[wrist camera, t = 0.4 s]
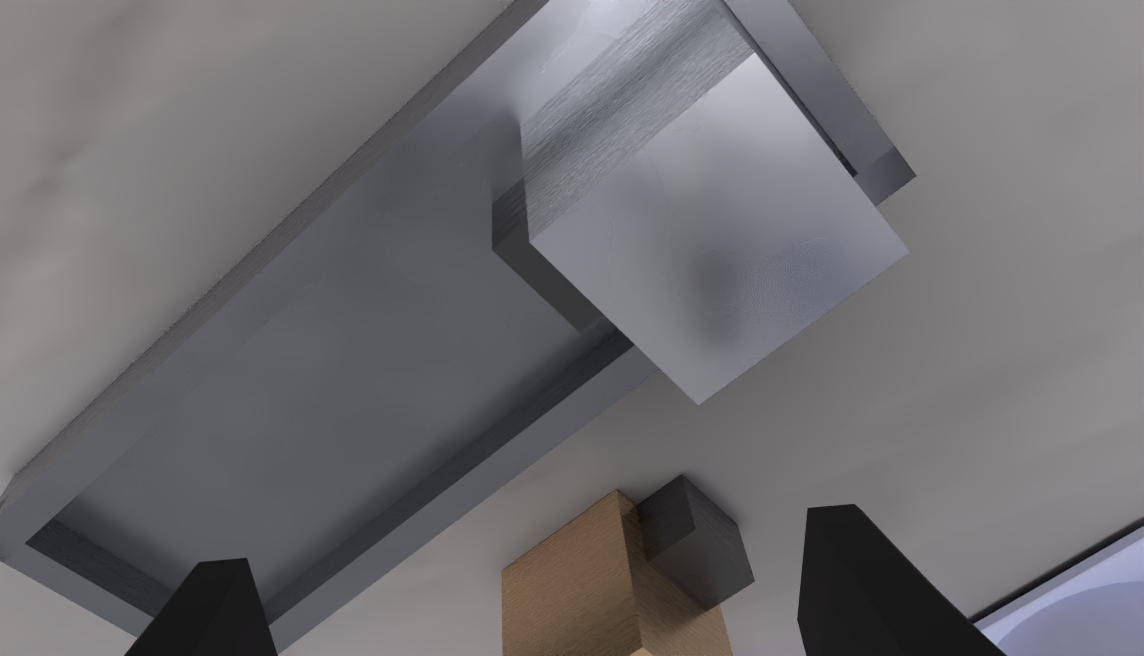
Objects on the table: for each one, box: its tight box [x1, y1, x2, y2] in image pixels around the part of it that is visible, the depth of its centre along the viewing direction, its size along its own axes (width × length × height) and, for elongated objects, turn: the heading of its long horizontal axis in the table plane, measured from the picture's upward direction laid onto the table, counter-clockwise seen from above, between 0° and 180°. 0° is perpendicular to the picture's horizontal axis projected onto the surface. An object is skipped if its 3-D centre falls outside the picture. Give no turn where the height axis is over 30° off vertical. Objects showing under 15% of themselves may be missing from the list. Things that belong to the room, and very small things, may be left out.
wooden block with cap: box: [502, 475, 755, 656], centre depth 23 cm, size 4×6×5 cm
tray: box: [0, 0, 916, 655], centre depth 20 cm, size 7×20×2 cm, turn 131°
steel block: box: [492, 0, 910, 405], centre depth 16 cm, size 4×6×5 cm
